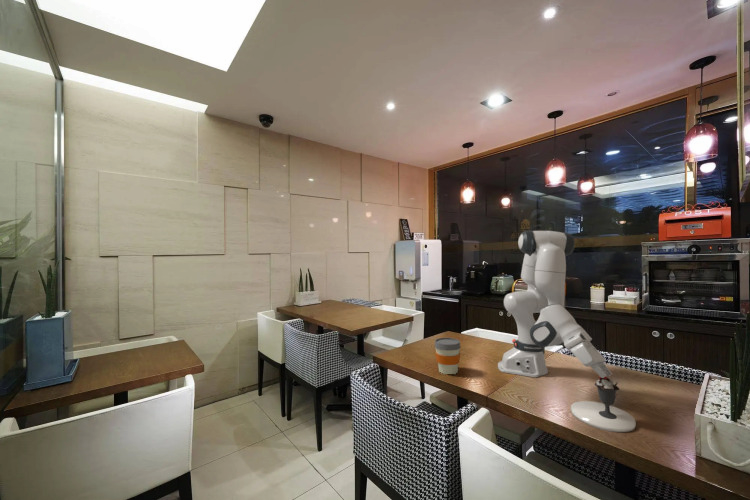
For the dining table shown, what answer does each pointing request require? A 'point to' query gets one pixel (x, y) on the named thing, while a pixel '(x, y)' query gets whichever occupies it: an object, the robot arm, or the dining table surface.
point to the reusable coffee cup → (447, 355)
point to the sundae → (607, 395)
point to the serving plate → (591, 416)
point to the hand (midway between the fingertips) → (607, 376)
